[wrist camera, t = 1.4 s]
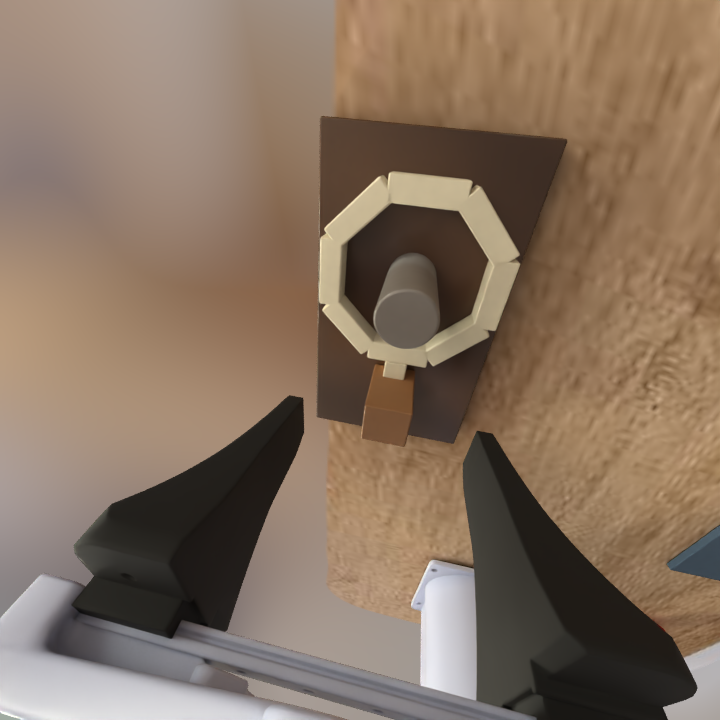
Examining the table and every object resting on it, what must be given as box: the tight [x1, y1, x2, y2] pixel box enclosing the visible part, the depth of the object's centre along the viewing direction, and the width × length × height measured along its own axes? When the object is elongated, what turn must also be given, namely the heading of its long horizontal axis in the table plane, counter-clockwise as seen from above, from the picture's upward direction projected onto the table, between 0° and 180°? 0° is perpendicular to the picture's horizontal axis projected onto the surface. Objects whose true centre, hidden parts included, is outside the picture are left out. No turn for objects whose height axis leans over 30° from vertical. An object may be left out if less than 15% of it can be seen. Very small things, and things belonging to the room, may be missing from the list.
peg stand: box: [317, 116, 567, 444], centre depth 12 cm, size 14×8×5 cm, turn 175°
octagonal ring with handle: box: [319, 171, 520, 447], centre depth 13 cm, size 12×7×3 cm, turn 175°
